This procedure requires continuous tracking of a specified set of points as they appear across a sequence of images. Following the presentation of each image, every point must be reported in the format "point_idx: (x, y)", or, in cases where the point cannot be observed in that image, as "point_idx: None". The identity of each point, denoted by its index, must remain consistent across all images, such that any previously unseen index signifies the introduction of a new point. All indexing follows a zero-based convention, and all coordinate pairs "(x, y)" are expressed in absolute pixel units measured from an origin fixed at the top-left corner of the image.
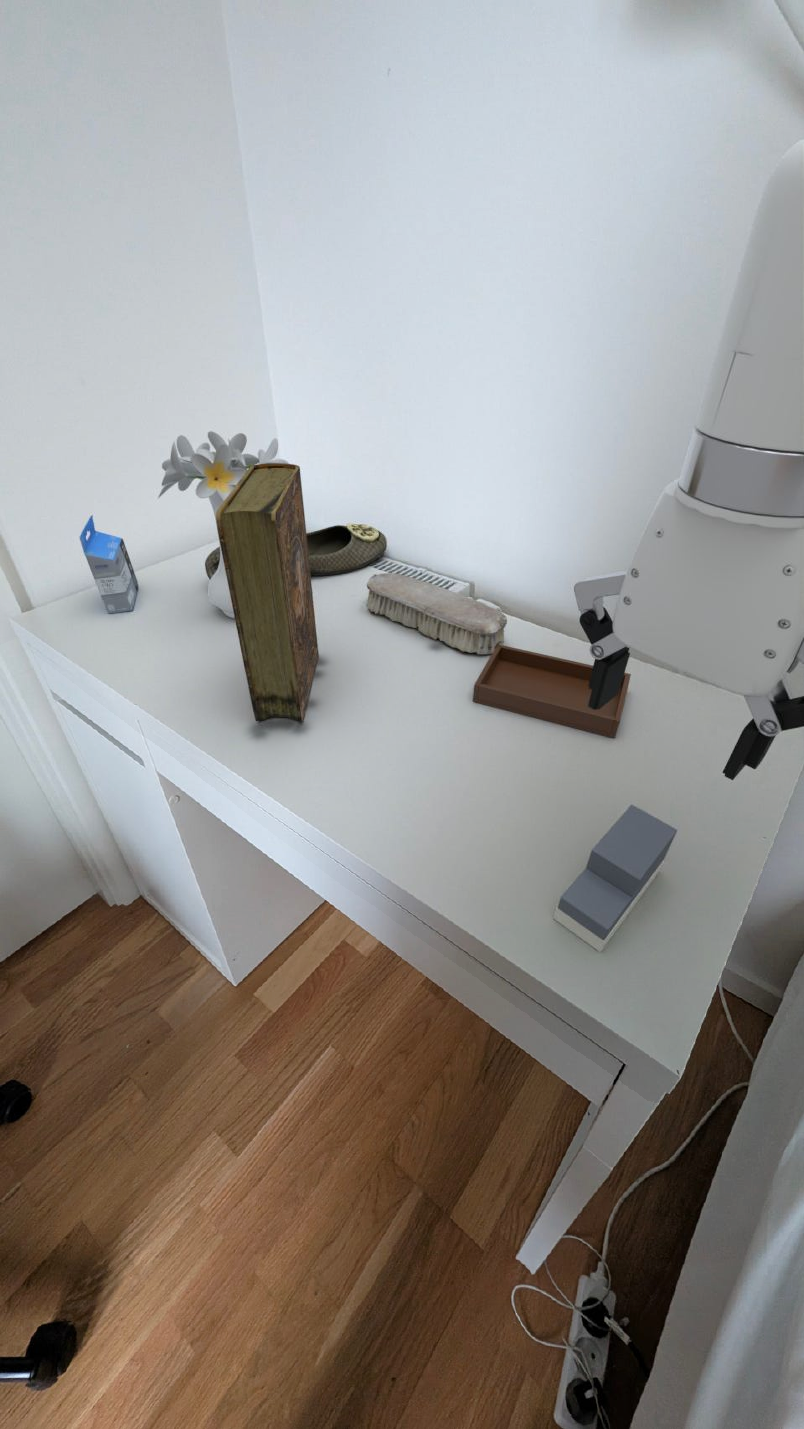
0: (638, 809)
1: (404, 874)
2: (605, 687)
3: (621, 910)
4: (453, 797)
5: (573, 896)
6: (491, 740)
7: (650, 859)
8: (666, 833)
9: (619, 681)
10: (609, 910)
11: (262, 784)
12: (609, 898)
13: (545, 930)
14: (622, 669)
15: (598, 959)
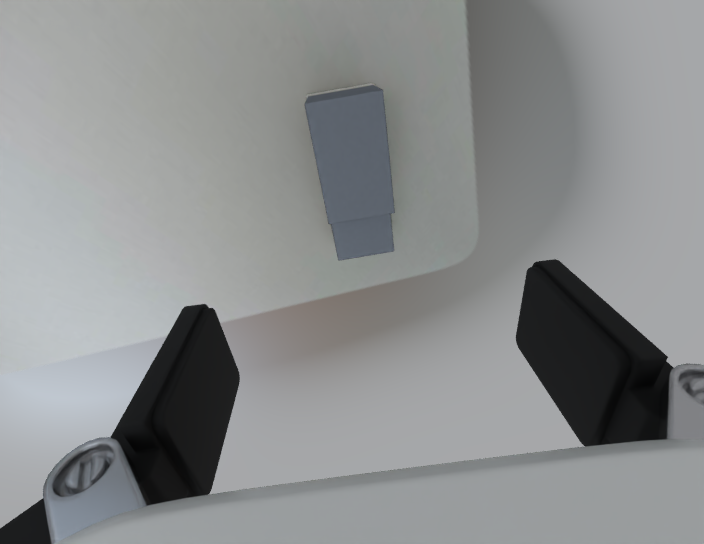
0: (318, 104)
1: None
2: (223, 422)
3: (390, 223)
4: (131, 217)
5: (346, 249)
6: (15, 77)
7: (386, 175)
8: (375, 113)
9: (203, 350)
10: (381, 233)
11: (32, 366)
12: (373, 222)
13: None
14: (190, 385)
15: None
